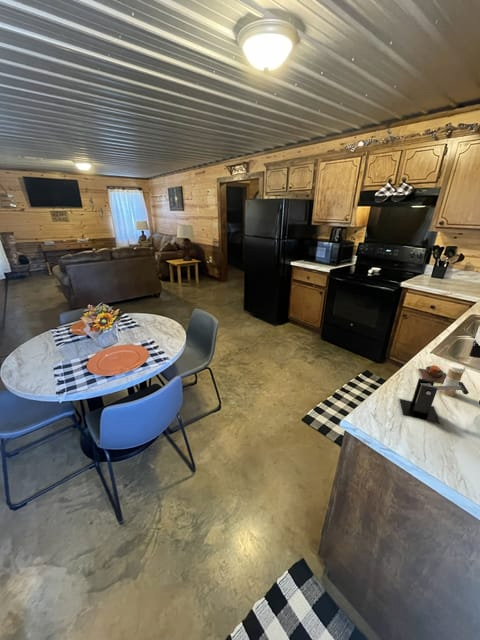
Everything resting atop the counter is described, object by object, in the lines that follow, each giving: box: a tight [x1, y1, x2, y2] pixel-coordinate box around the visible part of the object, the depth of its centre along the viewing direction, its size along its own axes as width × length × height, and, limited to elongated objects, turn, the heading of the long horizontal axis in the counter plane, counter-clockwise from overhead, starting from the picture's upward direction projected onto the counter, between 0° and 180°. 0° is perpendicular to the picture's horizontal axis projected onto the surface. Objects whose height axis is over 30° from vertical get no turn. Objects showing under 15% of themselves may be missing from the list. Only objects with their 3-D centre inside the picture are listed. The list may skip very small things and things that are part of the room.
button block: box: [418, 365, 447, 384], centre depth 113 cm, size 10×9×4 cm
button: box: [430, 364, 441, 373], centre depth 113 cm, size 3×3×2 cm
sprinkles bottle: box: [440, 362, 466, 397], centre depth 101 cm, size 5×5×13 cm
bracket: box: [399, 378, 441, 425], centre depth 92 cm, size 11×9×13 cm
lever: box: [421, 381, 469, 395], centre depth 88 cm, size 12×5×2 cm, turn 68°
